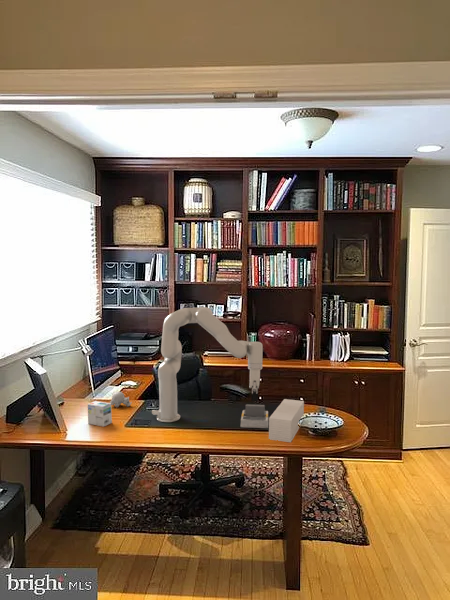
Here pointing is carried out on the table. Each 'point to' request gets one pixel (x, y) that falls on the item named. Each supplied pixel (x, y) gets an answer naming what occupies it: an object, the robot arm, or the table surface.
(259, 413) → the panel
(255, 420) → the rack
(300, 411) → the grey rectangular block
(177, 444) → the table surface
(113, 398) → the round bodied animal figurine
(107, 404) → the light bulb box
